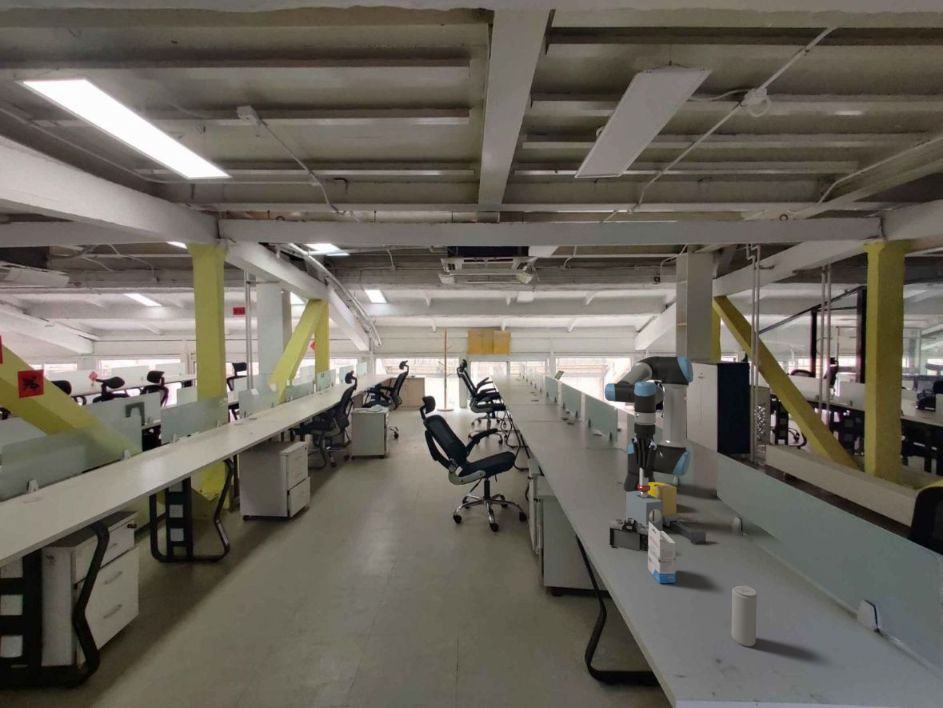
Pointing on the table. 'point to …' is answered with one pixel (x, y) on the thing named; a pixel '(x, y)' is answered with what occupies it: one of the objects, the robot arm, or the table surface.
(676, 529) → the rail
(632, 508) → the gauge cabinet
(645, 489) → the plunger
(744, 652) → the table surface
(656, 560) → the ink box
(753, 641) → the beverage can
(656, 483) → the tape roll
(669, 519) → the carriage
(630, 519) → the camera
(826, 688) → the table surface
